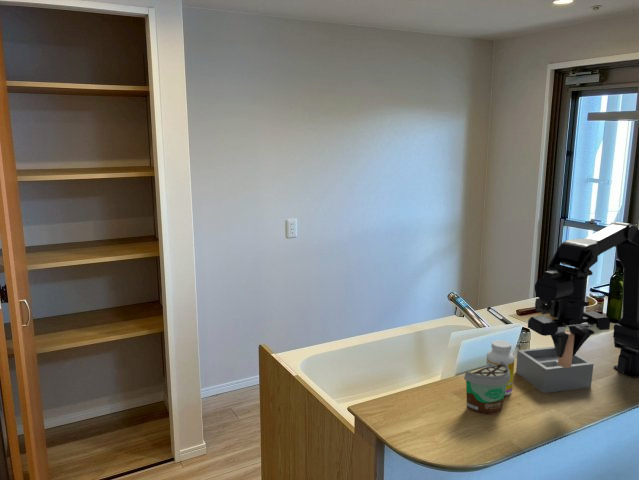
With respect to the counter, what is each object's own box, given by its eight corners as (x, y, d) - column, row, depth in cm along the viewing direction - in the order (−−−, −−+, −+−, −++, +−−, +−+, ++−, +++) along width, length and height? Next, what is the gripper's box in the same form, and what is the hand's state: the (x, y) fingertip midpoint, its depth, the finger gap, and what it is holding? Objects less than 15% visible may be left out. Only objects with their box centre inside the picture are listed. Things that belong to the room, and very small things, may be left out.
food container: (481, 422, 118) (483, 381, 116) (462, 409, 123) (464, 371, 121) (519, 409, 123) (522, 370, 121) (499, 397, 129) (502, 360, 127)
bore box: (559, 367, 146) (562, 345, 144) (590, 387, 134) (593, 363, 133) (515, 372, 143) (517, 350, 141) (543, 393, 131) (546, 369, 130)
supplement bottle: (508, 384, 135) (511, 339, 133) (515, 397, 129) (519, 349, 126) (482, 383, 136) (485, 338, 134) (487, 396, 130) (491, 348, 127)
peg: (565, 361, 127) (568, 331, 125) (574, 367, 124) (577, 335, 122) (555, 363, 126) (558, 332, 125) (563, 368, 123) (566, 336, 122)
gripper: (581, 282, 131) (575, 340, 135) (516, 287, 127) (511, 346, 130) (615, 295, 121) (607, 358, 124) (545, 301, 117) (539, 365, 120)
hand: (565, 356), depth 125 cm, fingers closed on peg, 3 cm apart
